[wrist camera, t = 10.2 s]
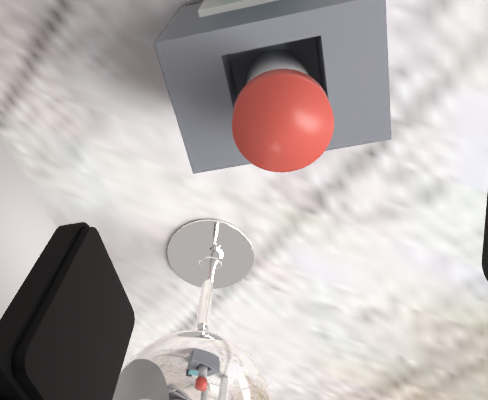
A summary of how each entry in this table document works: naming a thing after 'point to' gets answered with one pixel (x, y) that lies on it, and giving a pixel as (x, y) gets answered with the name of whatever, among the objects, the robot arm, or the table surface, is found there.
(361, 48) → the housing
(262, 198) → the table surface
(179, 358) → the wineglass
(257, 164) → the plunger
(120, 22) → the table surface
